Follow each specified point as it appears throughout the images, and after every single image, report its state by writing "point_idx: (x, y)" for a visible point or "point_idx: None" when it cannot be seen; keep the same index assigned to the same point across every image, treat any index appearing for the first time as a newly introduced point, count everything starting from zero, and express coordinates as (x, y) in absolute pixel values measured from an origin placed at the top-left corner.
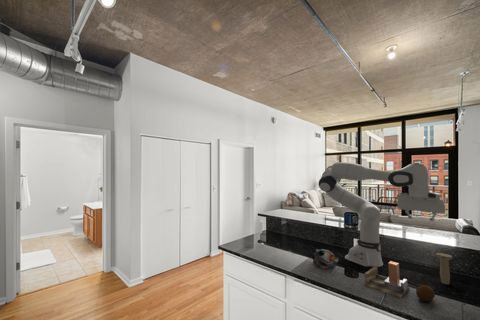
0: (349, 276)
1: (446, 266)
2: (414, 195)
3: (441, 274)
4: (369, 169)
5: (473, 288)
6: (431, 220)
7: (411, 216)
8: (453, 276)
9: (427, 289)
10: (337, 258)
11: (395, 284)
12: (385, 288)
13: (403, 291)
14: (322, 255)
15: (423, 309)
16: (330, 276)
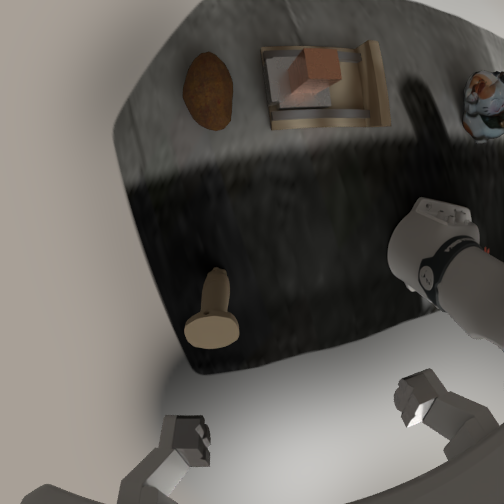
0: (413, 80)
1: (204, 299)
2: None
3: (222, 279)
4: None
5: (165, 301)
6: (183, 417)
7: (406, 405)
8: None
9: (193, 72)
10: (471, 96)
11: (288, 58)
12: None
13: (263, 66)
14: (491, 72)
15: (196, 40)
16: (433, 47)
